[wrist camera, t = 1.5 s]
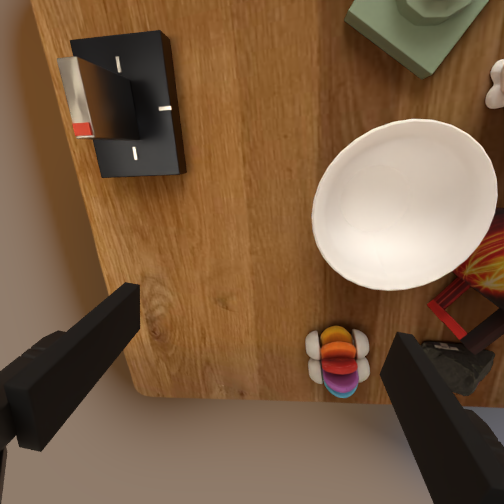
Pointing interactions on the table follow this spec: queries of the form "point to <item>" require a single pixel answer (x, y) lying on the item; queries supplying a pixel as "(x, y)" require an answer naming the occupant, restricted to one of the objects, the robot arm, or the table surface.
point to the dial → (98, 101)
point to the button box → (414, 28)
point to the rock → (459, 365)
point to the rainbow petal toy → (338, 359)
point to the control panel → (140, 103)
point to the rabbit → (496, 86)
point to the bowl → (404, 204)
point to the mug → (478, 288)
